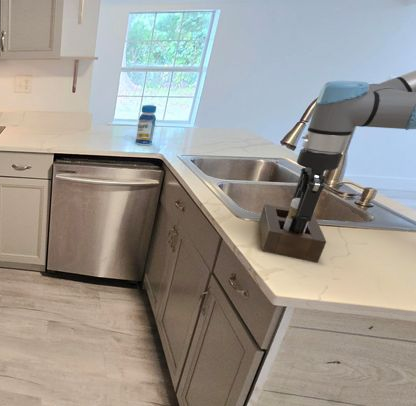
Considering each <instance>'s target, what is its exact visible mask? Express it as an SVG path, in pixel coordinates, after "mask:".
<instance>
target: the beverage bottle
mask: <svg viewBox="0 0 416 406" xmlns="http://www.w3.org/2000/svg"><path fill="white" fill-rule="evenodd" d="M156 112H157V106H156V105H154V104H153V105H152V104H144V105H142V107H141V114H140V116H139V118H138V123H137V129H136V137H135V144H137V145H139V146H151V145H152V144H153V138H154V132H155V127H156V121H157V118H156V117H157V116H156V115H155V113H156Z"/></svg>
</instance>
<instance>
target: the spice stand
mask: <svg viewBox="0 0 416 406" xmlns="http://www.w3.org/2000/svg"><path fill="white" fill-rule="evenodd" d="M290 208H291V207H286V206H285V207H284V206H278V205H272V204H266V203H265V204H264V205H263V208H262V211H261V214H260V216H259V221H258V225H259V226H258V227H259V235H260V241H261V242H260V243H261V250H262V252H265V253H270V254H275V255H278V256H282V257H283V256H284V257H288V258H294V259H298V260H303V261H307V262H312V263H319V261H320V258H321V256H322V255H323V251H324V249H325V246H326V244H327V240H326V237H325V235H324V232H323V230H322V228H321V226H320V224H319V222H318V219H317V217H316V215H315V212H313V215H312V218H311V221H308V225H307V228H306V231H305V233H298V232H293V231H287V230H283V227H284V224H285V221H286V218H287V216H288V214H289V211H290Z"/></svg>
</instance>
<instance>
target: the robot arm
mask: <svg viewBox="0 0 416 406" xmlns="http://www.w3.org/2000/svg"><path fill="white" fill-rule="evenodd" d="M354 127H360V128H361V127H362V128H364V127H366V128H381V129H382V128H383V129H396V130H397V129H398V130H399V129H400V130H405V131H408V130H416V70H413V71H411V72H408V73H405V74H401V75H400V76H397V77H394V78H391V79H388V80H385V81H383V82H380V83H368V82H366V81H357V80H331V81H328V82H326V83H325V84H323V85H322V87H321V90H320V92H319V95H318V97H317V99H316V101H315V105H314V108H313V112H312V115H311V118H310V121H309V124H308V128H307V131H306V134H302V135H301V139H303V143H302V147H303V148H302V149H300V151H299V154H298V156H297V160H296V163H297V165H298V166H300V167H302V168H300V169H301V170H300V175H299V178H298V182H297V184H296V187H295V190H294V193H293V196H292V198H291V201H290V203H291V202H292V200H293V199H294V198H300V201H299V204H298V208H297V211H296V215H295V216H291V218H293V219H292V222H291V225H290V227H289V230H288V231H293V232H298V233H303V232H304V229H305V226H306V223H307V221H311V218H312V215H313V213H315V210H316V208H317V204H318V201H319V199H320V196H321V194H322V192H323V190H324V188H325V185H326V184H325V181H326V175H324V174H325V172H327V171H334V170H337V169H338V168H339V166H340V164H341V161H342V159H343V152H345V151H346V149H347V146H348V145H349V144H348V143H349V141H350V138H351V136H352V132H353V130H354Z"/></svg>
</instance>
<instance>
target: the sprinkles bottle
mask: <svg viewBox="0 0 416 406" xmlns="http://www.w3.org/2000/svg"><path fill="white" fill-rule="evenodd" d="M292 199H293V198H292ZM292 199H291V201H292V202H291V201H290V207H289V208H290V211H289V214H288V216H287V218H286V221H285V224H284V227H283V230H287V231H288V230H289V227H290V225H291V222H292V219H293V218H291V216H295V215H296V211H297V208H298V204H299V201H300V198H294V199H293V200H292ZM307 225H308V221H307V223H306V226H305V229H304V232H303V233H305V231H306V228H307Z"/></svg>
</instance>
